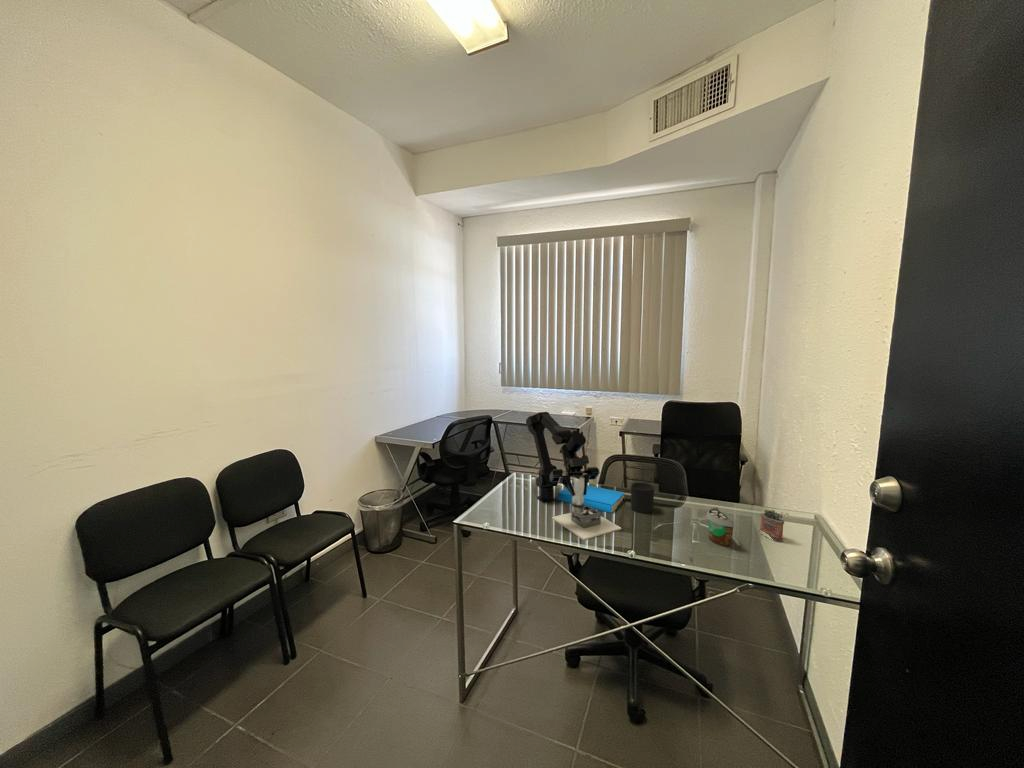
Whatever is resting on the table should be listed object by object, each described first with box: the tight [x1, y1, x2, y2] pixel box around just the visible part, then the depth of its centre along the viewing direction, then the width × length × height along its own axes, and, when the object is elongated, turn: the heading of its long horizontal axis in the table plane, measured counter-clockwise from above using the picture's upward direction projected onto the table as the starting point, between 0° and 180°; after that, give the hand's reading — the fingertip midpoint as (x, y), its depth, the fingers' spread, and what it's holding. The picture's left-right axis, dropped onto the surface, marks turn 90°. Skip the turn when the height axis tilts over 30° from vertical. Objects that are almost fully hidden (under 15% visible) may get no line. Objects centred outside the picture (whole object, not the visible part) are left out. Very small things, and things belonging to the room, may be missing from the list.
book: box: [557, 482, 625, 514], centre depth 179 cm, size 17×4×25 cm
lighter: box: [759, 508, 785, 543], centre depth 145 cm, size 8×3×10 cm, turn 23°
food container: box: [705, 506, 735, 548], centre depth 143 cm, size 12×6×10 cm, turn 178°
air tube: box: [571, 476, 585, 513], centre depth 151 cm, size 5×5×13 cm
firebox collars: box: [570, 505, 602, 529], centre depth 156 cm, size 8×8×5 cm
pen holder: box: [630, 482, 655, 514], centre depth 170 cm, size 9×9×10 cm
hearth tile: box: [551, 510, 622, 541], centre depth 156 cm, size 20×18×1 cm
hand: (579, 495), depth 150 cm, fingers closed on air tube, 4 cm apart
